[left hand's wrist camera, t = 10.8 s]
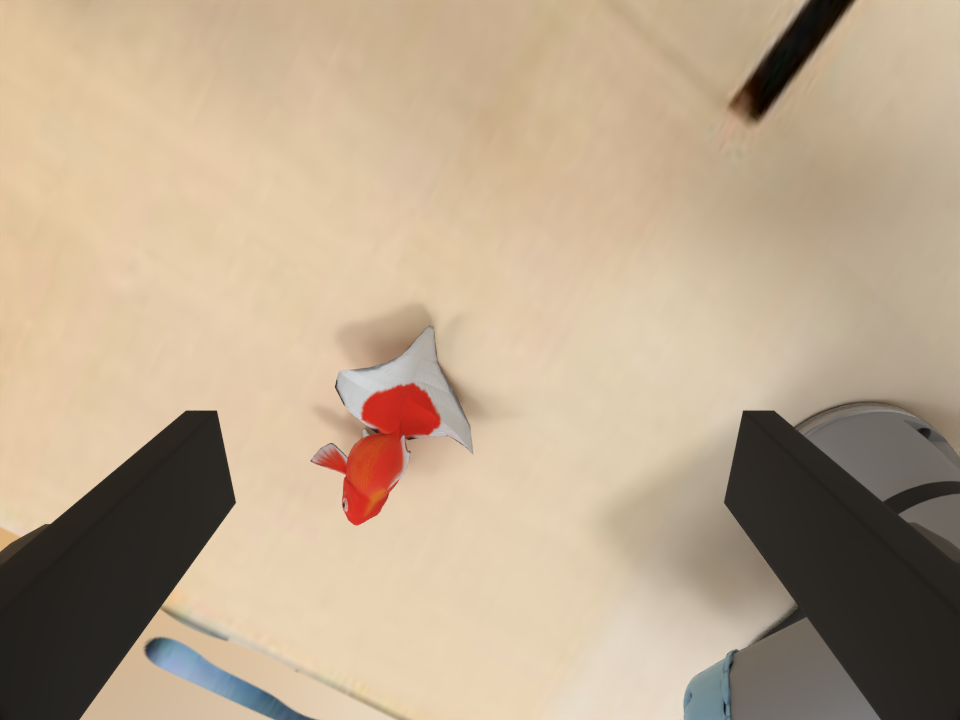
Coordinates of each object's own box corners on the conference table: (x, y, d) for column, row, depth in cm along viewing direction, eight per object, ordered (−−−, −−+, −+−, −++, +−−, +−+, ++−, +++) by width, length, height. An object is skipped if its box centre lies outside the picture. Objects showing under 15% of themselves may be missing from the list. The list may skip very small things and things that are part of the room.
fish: (249, 454, 38) (274, 517, 30) (371, 289, 41) (426, 305, 32) (359, 508, 44) (405, 573, 36) (461, 361, 46) (526, 390, 38)
